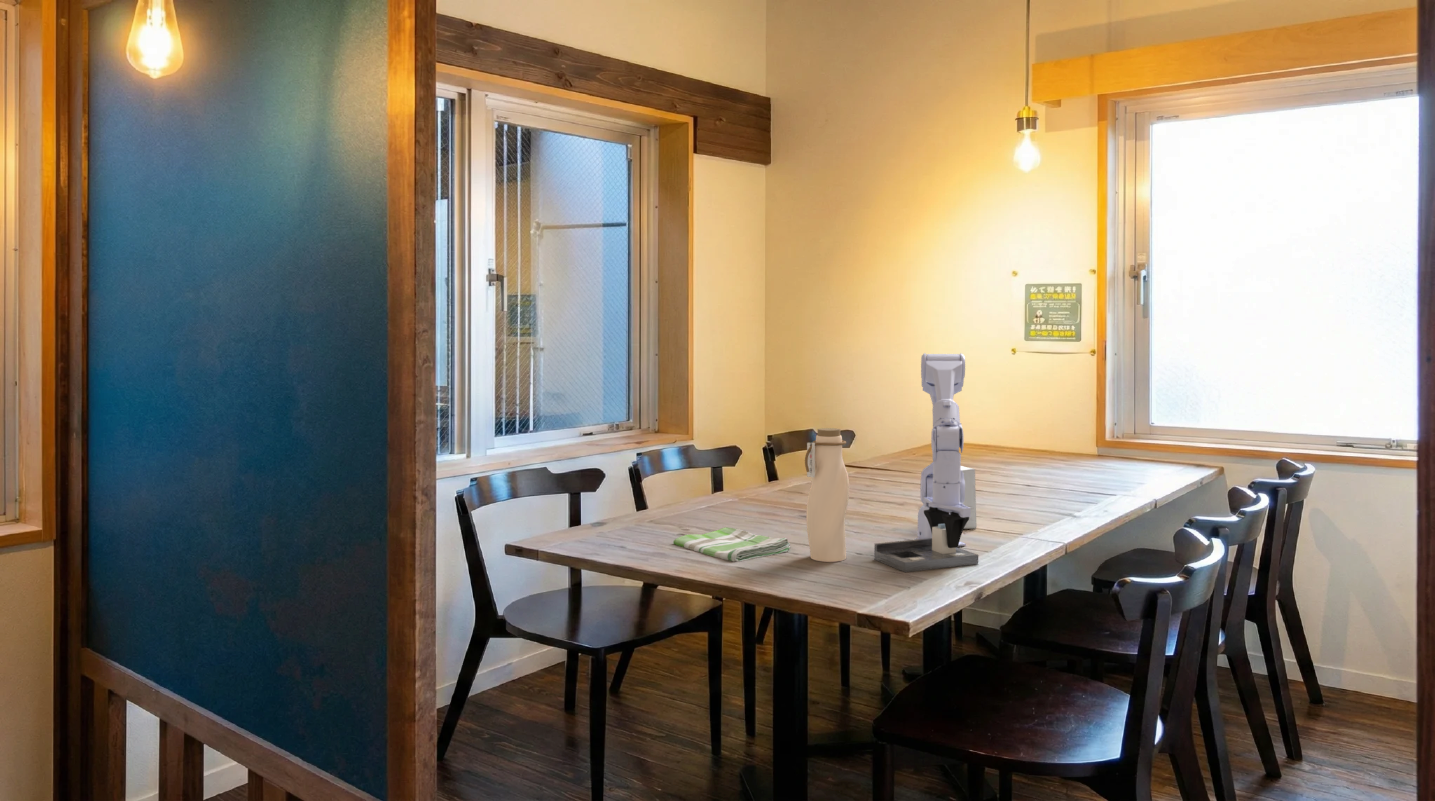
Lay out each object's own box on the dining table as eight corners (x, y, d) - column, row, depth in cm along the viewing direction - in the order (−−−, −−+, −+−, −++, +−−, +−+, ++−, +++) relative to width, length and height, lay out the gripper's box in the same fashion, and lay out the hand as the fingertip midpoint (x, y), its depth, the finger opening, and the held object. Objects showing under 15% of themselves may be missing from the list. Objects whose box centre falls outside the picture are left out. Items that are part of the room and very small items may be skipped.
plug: (931, 559, 215) (932, 523, 214) (945, 557, 216) (946, 521, 216) (941, 562, 212) (942, 526, 211) (955, 561, 213) (956, 524, 212)
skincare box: (976, 528, 246) (977, 469, 245) (954, 529, 245) (954, 469, 244) (962, 522, 254) (963, 464, 253) (940, 523, 253) (940, 465, 252)
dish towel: (733, 565, 212) (733, 548, 212) (670, 546, 230) (670, 531, 230) (793, 553, 223) (793, 537, 222) (728, 536, 241) (728, 522, 240)
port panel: (874, 559, 214) (874, 543, 214) (944, 552, 221) (945, 536, 221) (905, 572, 203) (905, 555, 203) (978, 564, 210) (978, 547, 210)
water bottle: (822, 565, 209) (823, 432, 207) (794, 557, 216) (794, 429, 214) (858, 558, 215) (858, 429, 213) (829, 551, 222) (830, 426, 220)
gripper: (911, 478, 218) (911, 539, 219) (951, 488, 205) (950, 553, 206) (939, 476, 221) (938, 537, 222) (979, 486, 207) (978, 550, 208)
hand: (945, 544), depth 214 cm, fingers open, 5 cm apart
